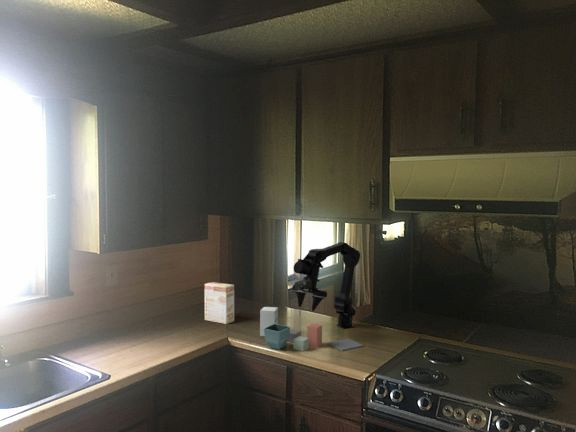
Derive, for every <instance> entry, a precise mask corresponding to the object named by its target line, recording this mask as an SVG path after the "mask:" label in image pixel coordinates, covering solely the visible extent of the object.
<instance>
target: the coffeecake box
mask: <svg viewBox="0 0 576 432" xmlns="http://www.w3.org/2000/svg"><path fill="white" fill-rule="evenodd" d="M203 288H204V321H209V322H215V323H217V324H218V323H220V324H224V325H228V324H230V323H233V322H235V284H232V283H231V284H229V283H224V282H223V283H222V282H216V281H212V282H207V283H204V287H203Z"/></svg>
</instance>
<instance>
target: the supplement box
mask: <svg viewBox="0 0 576 432" xmlns="http://www.w3.org/2000/svg"><path fill="white" fill-rule="evenodd" d="M259 311H260V312H259V315H260V316H259V317H260V318H259V337H265V334H264V328H266V327H268V326H270V325H272V324H278V325H279V321H278V320H279V318H278V317H279V308H278V307H275V306H264V307H262V308H261V309H260V310H259Z"/></svg>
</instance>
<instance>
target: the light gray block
mask: <svg viewBox="0 0 576 432" xmlns="http://www.w3.org/2000/svg"><path fill="white" fill-rule="evenodd" d="M301 335H302V331H301V330H296V329H290V333H289V339H288V341H287V343H291V344H293V339H295V338H297V337H298V336H300V337H302V336H301Z"/></svg>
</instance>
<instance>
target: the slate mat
mask: <svg viewBox="0 0 576 432" xmlns="http://www.w3.org/2000/svg"><path fill="white" fill-rule="evenodd" d="M326 344H327V345H329V346H331V347H333V348H335V349H337V350H339V351H341V352H343V351H347V350H353V349H358V348H362V347H364V344H362V343H360V342H357V341H355V340H353V339H351V338H345V339H340V340H335V341H334V340H333V341H330V342H329V341H328V342H327V343H326Z"/></svg>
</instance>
